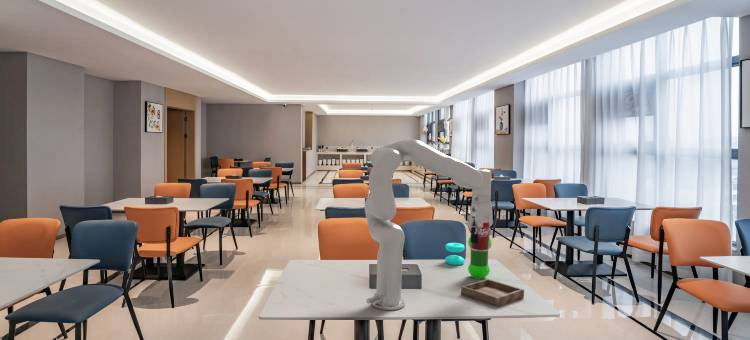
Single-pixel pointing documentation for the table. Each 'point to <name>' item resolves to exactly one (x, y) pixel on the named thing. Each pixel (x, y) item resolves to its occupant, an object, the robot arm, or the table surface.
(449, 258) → the donuts
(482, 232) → the soda can
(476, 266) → the plastic bottle
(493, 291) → the walnut tray
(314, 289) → the table surface
